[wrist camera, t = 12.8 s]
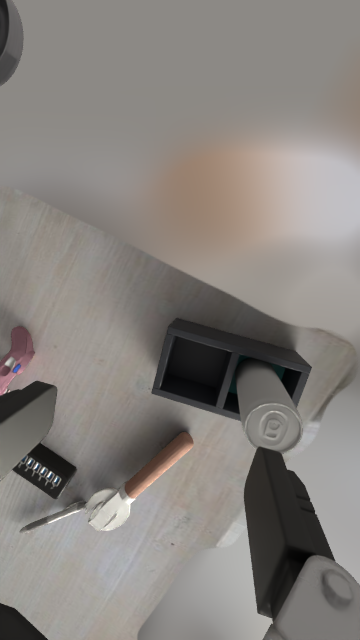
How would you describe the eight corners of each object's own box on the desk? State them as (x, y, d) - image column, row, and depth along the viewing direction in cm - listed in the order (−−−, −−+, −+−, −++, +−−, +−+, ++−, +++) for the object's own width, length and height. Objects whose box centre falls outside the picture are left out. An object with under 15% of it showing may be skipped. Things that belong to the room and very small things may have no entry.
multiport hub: (65, 488, 41) (56, 500, 39) (7, 449, 42) (-5, 459, 39) (77, 468, 40) (69, 480, 38) (18, 428, 41) (6, 437, 38)
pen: (92, 501, 41) (87, 509, 40) (25, 528, 44) (19, 537, 42) (88, 496, 41) (84, 503, 39) (22, 524, 44) (15, 532, 42)
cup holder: (176, 317, 34) (168, 326, 29) (296, 351, 33) (312, 367, 27) (161, 374, 36) (151, 393, 30) (275, 409, 34) (286, 435, 29)
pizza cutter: (174, 414, 37) (171, 426, 34) (205, 444, 37) (205, 458, 34) (84, 499, 41) (74, 516, 38) (112, 526, 41) (104, 545, 38)
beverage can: (278, 360, 32) (312, 409, 20) (268, 396, 33) (295, 463, 21) (239, 351, 33) (250, 394, 21) (230, 387, 34) (236, 447, 22)
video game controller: (12, 381, 41) (-7, 416, 35) (-19, 367, 39) (-44, 401, 33) (49, 337, 39) (36, 367, 33) (18, 320, 37) (-1, 348, 31)
